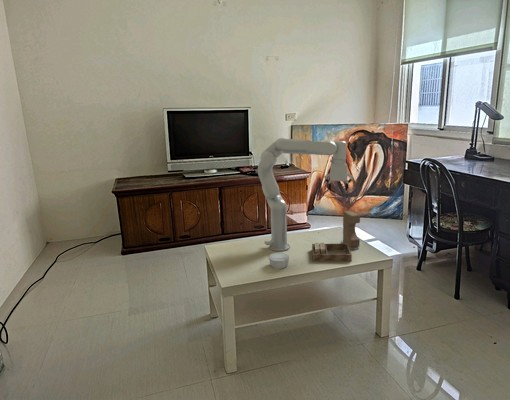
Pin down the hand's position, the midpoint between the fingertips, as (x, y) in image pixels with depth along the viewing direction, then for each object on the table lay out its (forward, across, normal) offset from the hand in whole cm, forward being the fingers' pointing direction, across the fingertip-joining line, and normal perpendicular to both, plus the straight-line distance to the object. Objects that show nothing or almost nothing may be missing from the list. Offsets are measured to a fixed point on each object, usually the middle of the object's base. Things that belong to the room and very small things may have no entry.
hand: (338, 189), depth 218 cm
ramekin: (+36, -33, -35) cm, 60 cm away
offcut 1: (+35, -12, -20) cm, 42 cm away
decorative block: (+34, +9, -4) cm, 35 cm away
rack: (+34, -4, -20) cm, 40 cm away
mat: (+34, +8, -4) cm, 35 cm away
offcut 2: (+35, -9, -20) cm, 41 cm away
